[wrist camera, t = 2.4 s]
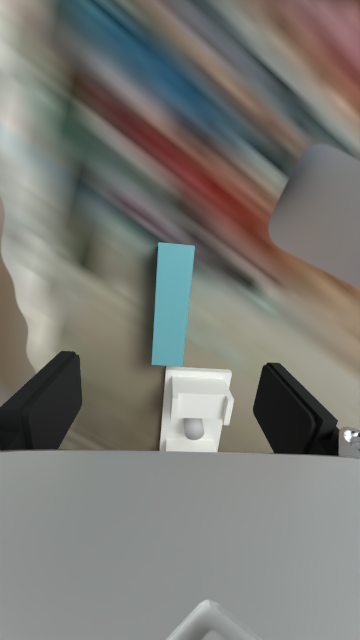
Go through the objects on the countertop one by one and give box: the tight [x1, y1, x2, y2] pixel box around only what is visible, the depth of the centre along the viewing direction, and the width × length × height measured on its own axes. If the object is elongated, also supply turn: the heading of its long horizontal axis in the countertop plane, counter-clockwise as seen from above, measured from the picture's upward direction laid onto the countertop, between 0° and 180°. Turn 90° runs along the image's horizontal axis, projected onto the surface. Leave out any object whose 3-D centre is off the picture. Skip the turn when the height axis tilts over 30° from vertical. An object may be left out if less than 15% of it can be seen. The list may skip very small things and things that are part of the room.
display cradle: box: [159, 366, 234, 452], centre depth 32 cm, size 10×18×6 cm, turn 175°
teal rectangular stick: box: [152, 242, 195, 367], centre depth 27 cm, size 4×15×4 cm, turn 175°
